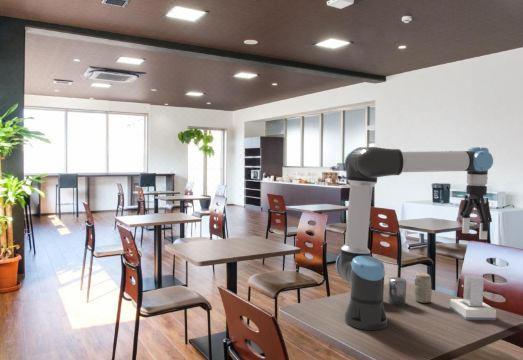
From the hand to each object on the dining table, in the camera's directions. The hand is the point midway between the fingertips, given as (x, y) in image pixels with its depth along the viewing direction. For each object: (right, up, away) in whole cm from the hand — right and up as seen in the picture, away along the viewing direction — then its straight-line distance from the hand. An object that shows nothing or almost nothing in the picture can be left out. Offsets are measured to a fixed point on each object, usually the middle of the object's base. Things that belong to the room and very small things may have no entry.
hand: (473, 236), depth 173 cm
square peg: (-4, -29, -7) cm, 30 cm away
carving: (-19, -29, +6) cm, 35 cm away
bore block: (-4, -30, -7) cm, 31 cm away
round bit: (-31, -29, +4) cm, 42 cm away
